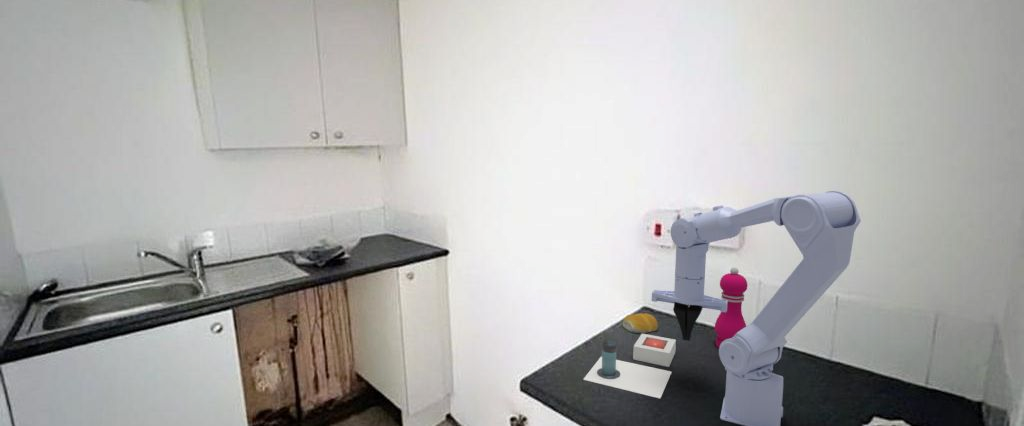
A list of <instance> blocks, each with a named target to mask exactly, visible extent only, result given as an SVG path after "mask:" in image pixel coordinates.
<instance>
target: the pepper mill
mask: <svg viewBox="0 0 1024 426" xmlns="http://www.w3.org/2000/svg"><path fill="white" fill-rule="evenodd" d="M729 271H730V272H729V273H726V274H724V275H722V276H721V278H720V280H719V287H720V289H721V290H722V291H721V296H720V299H722V300H728V303H727V312H721V311H720V313H719V315H718V317H717V318H716V320H715V323H714V332H715V334H716V335H717V336H716V337H715V345H716V347H717V348H718V349H719V347H720V344H721V343H722V342H723V341H724V340H726V339H730V338H732V337H734V336H735V334H736V333H737V332H739V331H740V330H742V329H743V328H745V327H746V326H747V324H746V321H745V318H744V316H743V312H742V305H743V302H744V301H745V294H744V293H745V292H746V291H747V290H748V282H747V278H745V277H744V276H743V275H742V274H739V269H738V268H737V267H731V268H730V269H729Z"/></svg>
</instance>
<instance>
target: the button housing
mask: <svg viewBox="0 0 1024 426" xmlns="http://www.w3.org/2000/svg"><path fill="white" fill-rule="evenodd" d="M648 339H659V340H662V341H663V342H664V349H660V348H655V347H650V346H646V340H648ZM676 343H677V340H676V339H673V338H669V337H662V336H658V335H653V334H647V333H640V336H639V337H638V339H637V340H636V342H635V343H634V344H633V349H632V350H633V351H632V352H633V353H632V354H633V355H632V359H633V360H635V361H640V362H643V363H648V364H653V365H658V366H662V367H667V368H670V365H671V363H672V361H673V359H674V357H675V355H676V346H677V345H676Z"/></svg>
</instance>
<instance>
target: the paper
mask: <svg viewBox="0 0 1024 426" xmlns="http://www.w3.org/2000/svg"><path fill="white" fill-rule="evenodd" d="M672 372H673V371H670V370H666V369H661V368H656V367H651V366H647V365H643V364H638V363H635V362H634V363H633V362H628V361H623V360H620V359H616V374H615V375H614V376H605V375H603V374H602V355H601V356H600V357H599V358H598V360H597V361H596V362H595V363H594V365H593V366H592V367H591V369H590V370H589V371H588V373H587V374H585V376H584V377H583V380H584V381H588V382H591V383H596V384H599V385H603V386H607V387H612V388H616V389H620V390H624V391H628V392H632V393H634V394H635V393H636V394H640V395H644V396H648V397H652V398H657V399H661V398H662V395H663V393H664V391H665V389H666V386H667V384H668V382H669V379H670V376H671V375H672Z"/></svg>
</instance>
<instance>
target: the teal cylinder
mask: <svg viewBox="0 0 1024 426" xmlns="http://www.w3.org/2000/svg"><path fill="white" fill-rule="evenodd" d="M617 345H618V343H617V341H616V340H613V339H603V340H602V342H601V356H602V374H603V375H605V376H614V375H615V374H616V360H617V348H618V347H617Z"/></svg>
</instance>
